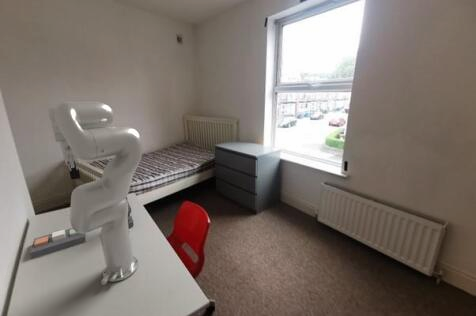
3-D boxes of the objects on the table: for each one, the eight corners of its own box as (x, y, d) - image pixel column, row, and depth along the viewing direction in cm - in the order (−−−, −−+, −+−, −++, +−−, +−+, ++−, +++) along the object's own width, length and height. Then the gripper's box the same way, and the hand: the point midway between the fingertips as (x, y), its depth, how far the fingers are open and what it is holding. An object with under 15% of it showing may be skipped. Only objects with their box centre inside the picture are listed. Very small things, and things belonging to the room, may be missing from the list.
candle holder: (136, 225, 115) (129, 182, 109) (125, 231, 110) (118, 186, 103) (129, 222, 118) (122, 179, 112) (118, 227, 113) (110, 183, 106)
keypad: (84, 229, 111) (83, 224, 110) (85, 241, 102) (84, 236, 101) (35, 244, 100) (34, 238, 100) (31, 258, 91) (30, 253, 90)
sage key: (82, 232, 108) (80, 226, 107) (82, 237, 104) (81, 231, 103) (71, 236, 105) (69, 229, 104) (71, 240, 102) (69, 234, 101)
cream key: (66, 235, 104) (64, 229, 103) (65, 240, 100) (64, 233, 99) (54, 239, 101) (52, 232, 100) (53, 243, 98) (51, 237, 97)
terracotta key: (50, 242, 100) (48, 236, 99) (49, 247, 97) (47, 240, 96) (37, 246, 98) (35, 239, 97) (36, 251, 94) (34, 244, 94)
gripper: (78, 138, 85) (87, 181, 90) (77, 134, 97) (85, 172, 102) (53, 140, 81) (64, 185, 86) (55, 136, 93) (65, 176, 97)
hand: (75, 178), depth 94 cm, fingers closed
